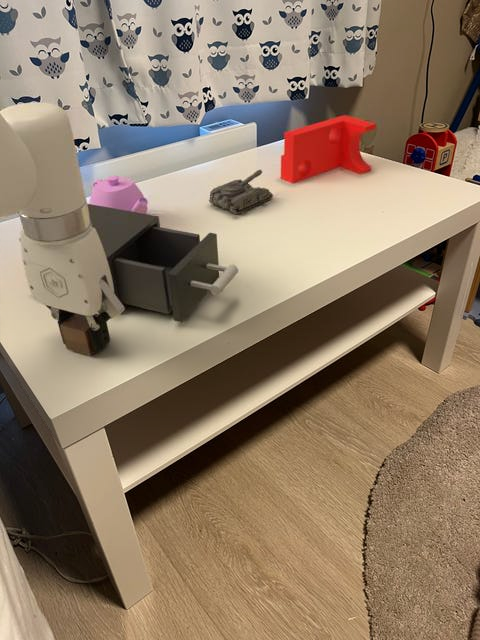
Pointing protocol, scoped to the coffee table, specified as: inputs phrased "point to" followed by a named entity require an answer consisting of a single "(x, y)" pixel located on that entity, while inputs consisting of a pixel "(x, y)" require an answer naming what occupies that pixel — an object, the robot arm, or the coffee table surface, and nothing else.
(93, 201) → the teapot
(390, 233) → the coffee table surface
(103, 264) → the robot arm
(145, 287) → the pulled-out drawer
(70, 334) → the block
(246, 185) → the tank toy
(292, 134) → the bracket
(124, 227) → the small drawer cabinet
